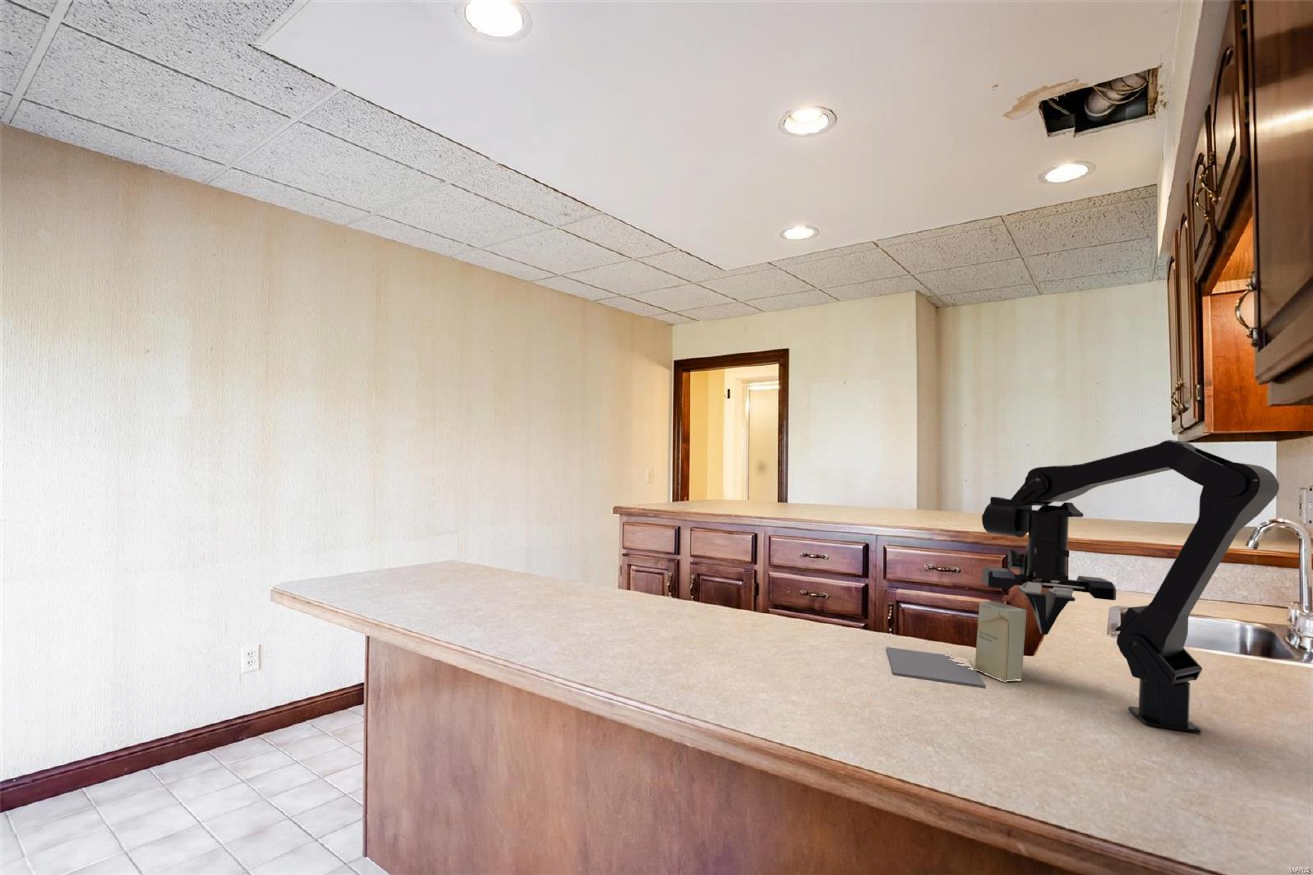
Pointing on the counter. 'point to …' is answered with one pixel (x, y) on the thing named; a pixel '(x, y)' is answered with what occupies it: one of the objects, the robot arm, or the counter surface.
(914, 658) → the mat
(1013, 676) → the skincare box
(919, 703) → the counter surface
